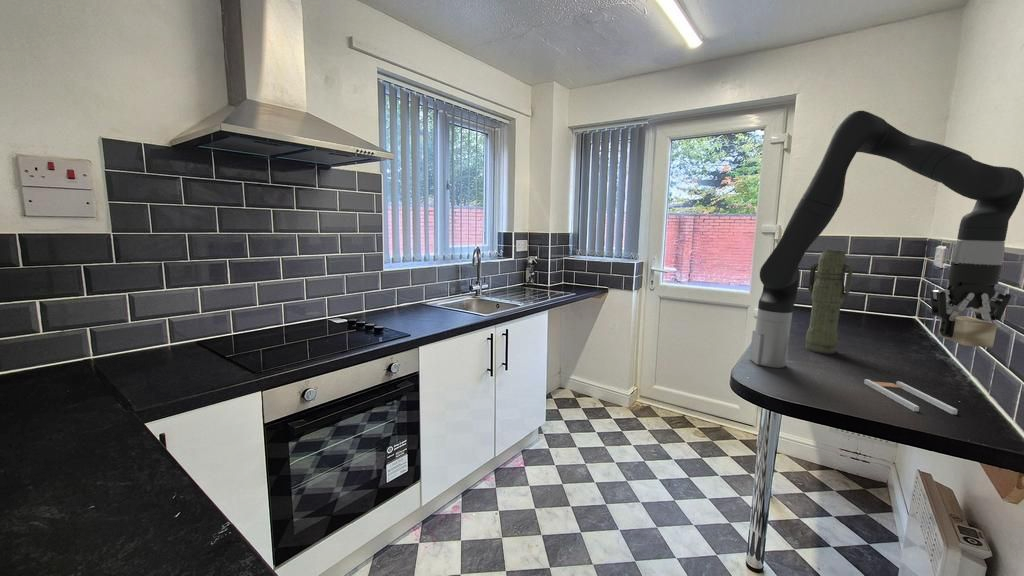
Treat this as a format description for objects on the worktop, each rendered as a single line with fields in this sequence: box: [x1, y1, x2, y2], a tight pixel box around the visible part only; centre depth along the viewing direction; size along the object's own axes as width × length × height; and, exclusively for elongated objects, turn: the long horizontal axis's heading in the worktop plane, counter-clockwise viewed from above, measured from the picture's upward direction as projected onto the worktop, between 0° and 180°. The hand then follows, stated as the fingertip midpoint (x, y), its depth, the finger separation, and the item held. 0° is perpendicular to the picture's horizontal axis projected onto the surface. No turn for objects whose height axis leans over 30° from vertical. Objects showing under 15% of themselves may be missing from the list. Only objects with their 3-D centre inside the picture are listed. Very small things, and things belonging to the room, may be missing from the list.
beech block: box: [937, 315, 998, 349], centre depth 94 cm, size 5×8×5 cm, turn 164°
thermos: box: [805, 249, 854, 355], centre depth 148 cm, size 9×12×35 cm
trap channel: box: [863, 378, 958, 416], centre depth 110 cm, size 9×19×1 cm, turn 171°
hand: (961, 336), depth 95 cm, fingers closed on beech block, 5 cm apart
